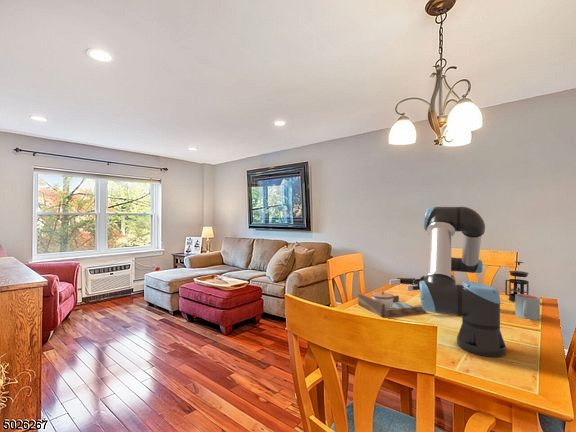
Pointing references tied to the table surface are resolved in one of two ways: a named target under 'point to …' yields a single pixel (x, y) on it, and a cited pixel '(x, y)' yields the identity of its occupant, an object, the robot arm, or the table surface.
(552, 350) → the table surface
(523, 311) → the mug
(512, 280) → the french press
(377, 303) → the bay
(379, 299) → the lidded jar
